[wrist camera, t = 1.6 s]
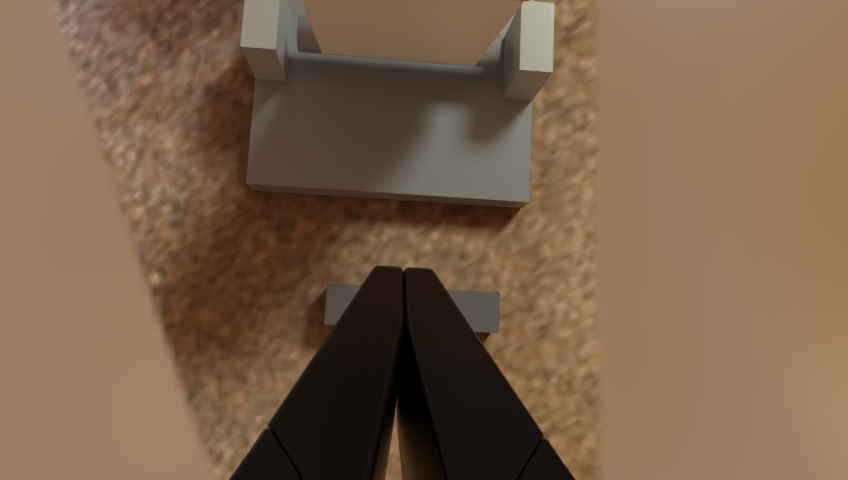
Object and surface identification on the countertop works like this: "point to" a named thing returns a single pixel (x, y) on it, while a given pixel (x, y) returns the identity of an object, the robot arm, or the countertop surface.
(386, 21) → the lever
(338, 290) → the long grey bar
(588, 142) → the countertop surface
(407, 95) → the grey twin-post base
